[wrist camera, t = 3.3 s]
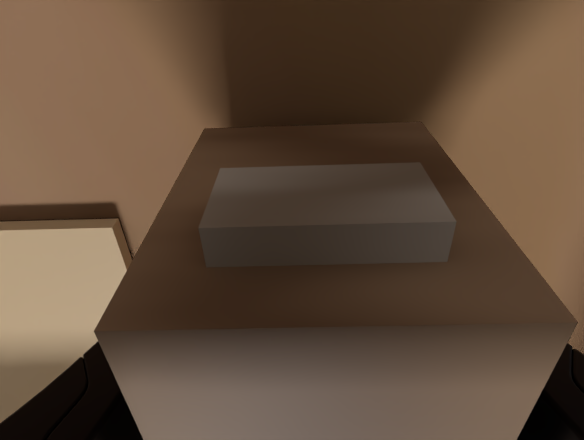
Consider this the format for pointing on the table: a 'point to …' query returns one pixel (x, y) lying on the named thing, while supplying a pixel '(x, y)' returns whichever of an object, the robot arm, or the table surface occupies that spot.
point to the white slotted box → (52, 298)
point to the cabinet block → (330, 296)
